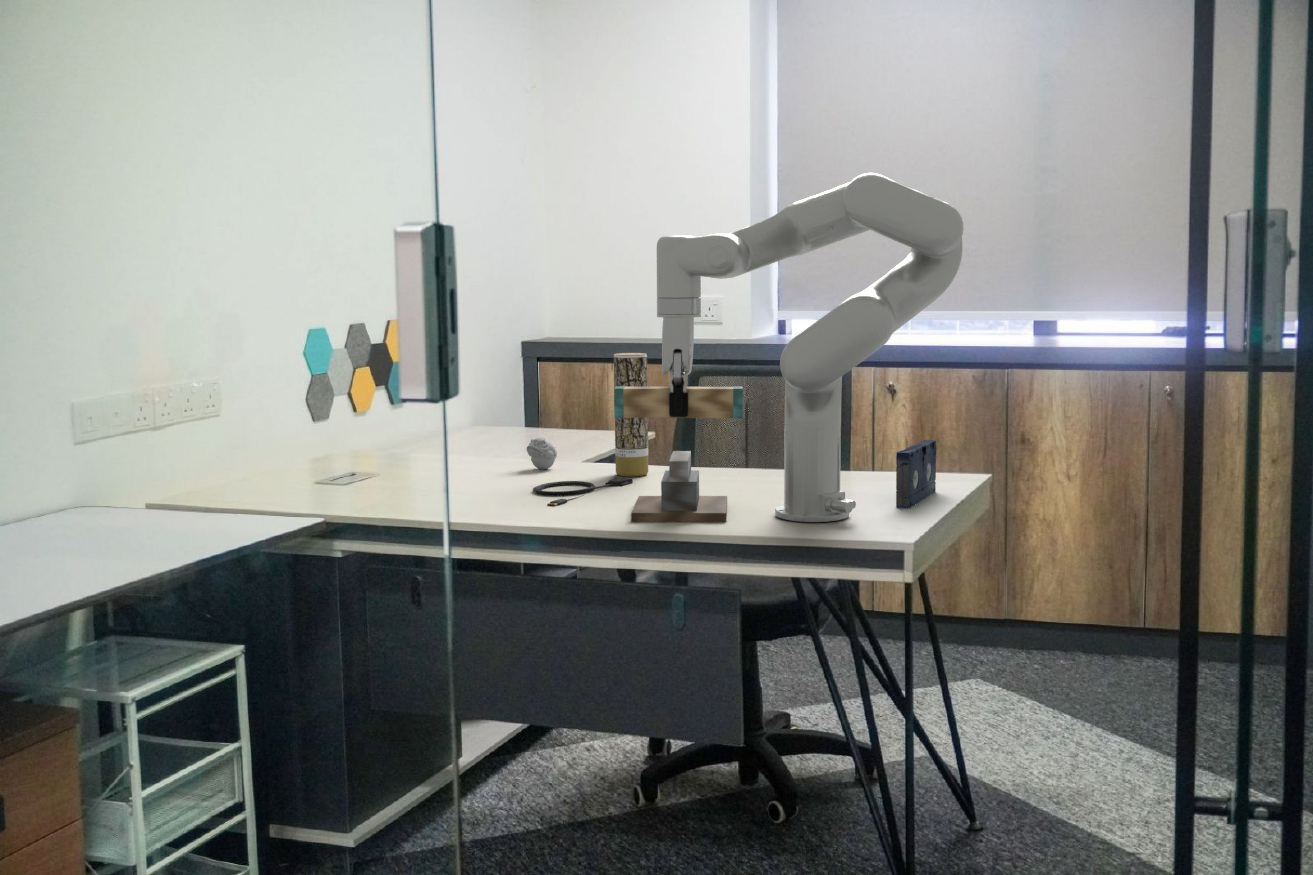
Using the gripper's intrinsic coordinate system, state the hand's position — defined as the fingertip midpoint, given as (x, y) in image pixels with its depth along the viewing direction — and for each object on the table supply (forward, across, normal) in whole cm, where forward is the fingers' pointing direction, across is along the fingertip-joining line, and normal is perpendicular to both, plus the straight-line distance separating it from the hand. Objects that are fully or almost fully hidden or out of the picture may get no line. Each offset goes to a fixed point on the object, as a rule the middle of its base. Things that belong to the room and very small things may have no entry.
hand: (679, 413), depth 219 cm
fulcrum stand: (+17, 0, 0) cm, 17 cm away
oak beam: (0, 0, 0) cm, 1 cm away
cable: (+18, -21, -23) cm, 36 cm away
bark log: (+18, -40, -12) cm, 46 cm away
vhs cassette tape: (+18, -13, +43) cm, 48 cm away
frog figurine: (+18, -47, -32) cm, 60 cm away
